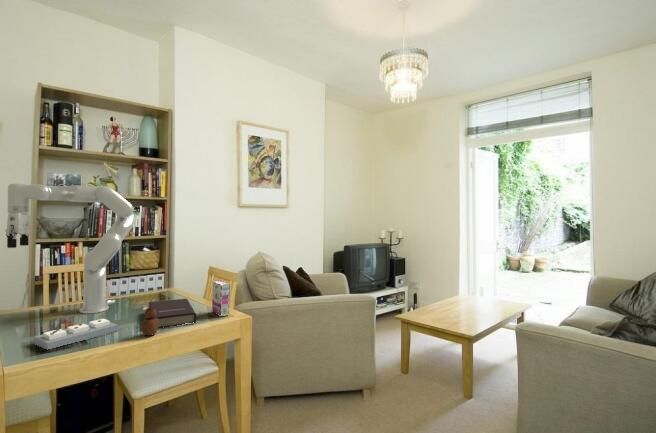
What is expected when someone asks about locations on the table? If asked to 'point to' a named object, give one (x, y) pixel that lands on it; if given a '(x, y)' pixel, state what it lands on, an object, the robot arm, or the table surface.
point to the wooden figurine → (150, 321)
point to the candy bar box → (220, 297)
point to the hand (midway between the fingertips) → (18, 246)
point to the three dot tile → (54, 334)
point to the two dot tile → (78, 328)
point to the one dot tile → (99, 323)
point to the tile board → (75, 336)
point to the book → (174, 312)
